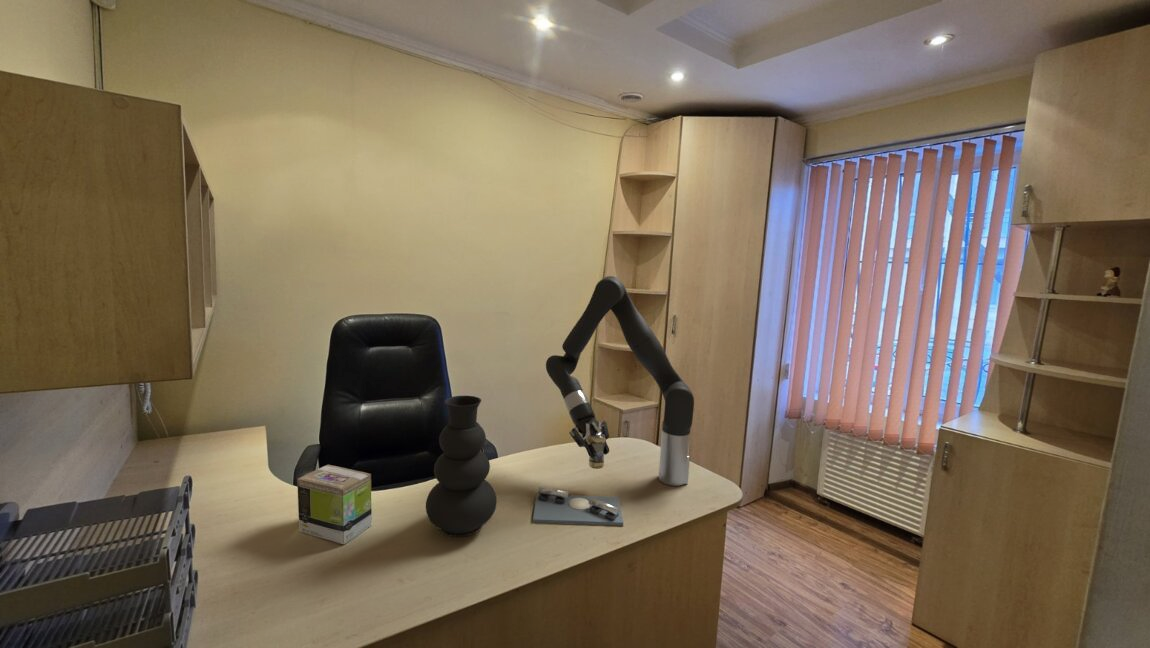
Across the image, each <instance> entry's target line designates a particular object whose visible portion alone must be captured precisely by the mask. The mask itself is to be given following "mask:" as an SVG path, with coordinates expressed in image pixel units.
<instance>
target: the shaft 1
mask: <svg viewBox="0 0 1150 648" xmlns="http://www.w3.org/2000/svg"><path fill="white" fill-rule="evenodd" d="M537 494H540V495H539V497H538V500H540V501H547V499H548V498H549V496H555V497H556V498H555V503H557V504H563V503H564V501H565V499H567V498H568V495H570V493H569V491H566V490H562V489H557V488H556V489H555V488H549V487H543V486H538V489H537Z"/></svg>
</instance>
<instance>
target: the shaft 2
mask: <svg viewBox="0 0 1150 648" xmlns="http://www.w3.org/2000/svg"><path fill="white" fill-rule="evenodd" d="M589 505H591V506H592V507H591V508H590V512H591V513H593V514H596V515H597V514H598V513H600V512H601V511H602V510H604V511H607V513H606V514H605V518H606V519H608V520H611V521H613V520H614V519H615V518H616V517H618V516H619V508H617V507H615V506H612V505H609V504H607V503H604V502H601V501H599V500H596V499H594V498H590V499H589Z"/></svg>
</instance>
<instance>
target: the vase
mask: <svg viewBox="0 0 1150 648" xmlns="http://www.w3.org/2000/svg"><path fill="white" fill-rule="evenodd" d="M481 403H482V398H480V397H478V396H474V395H454V396H451V397H448V398H446V399H445V400H444V404H445V406H446V407H447V410H448V423H447V424H446V425H445V426H444V428H443V429H442V430H441V432H440V434H439V437H438V438H439V439H438V441H439V442H438V443H439V446H440V448H441V450H442V451H443V453H442V454H441V455H439V457H437V459H436V461H435V463H434V466H433V467H434V468H433V473H434V477H435V479H436V480H437V481H438V483H436V484H435V485H434V486H433V487H432V489H431V490H430V491H429V493H428V495H427V498H426V500H425V512H426V515H427V517H428V520H429V521H430V522H431V524H433V526H434V527H436V528H437V529H439V530H440V531H441V532H442V534H445V535H447V536H449V537H466V536H469V535H473V534H475V533H476V532H478V531H479V530H481V529H482V527H483V526H484V525H486V523H487V522H488V521H489V520H490V519H491V518H492V516H493V515H494V514H495V511H496V508H497V502H498V501H497V500H498V499H497V493H496V491H495V488H494V487H493V485H492V484H491V483H490V482H488V481H487V480H486V478H487V477H488V476H489V474H490V470H491V469H490V468H491V463H490V461H489V458H488V456H487V455H486V454H485V453H484V452H483V451H482V449H483V448H484V446H485V444H486V441H487V440H486V438H487V437H486V432H485V430H484V428H483V427H482V426H481V425H480V423H479V422H477V420H478V419H477V417H478V408H479V406H480V405H481Z"/></svg>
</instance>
